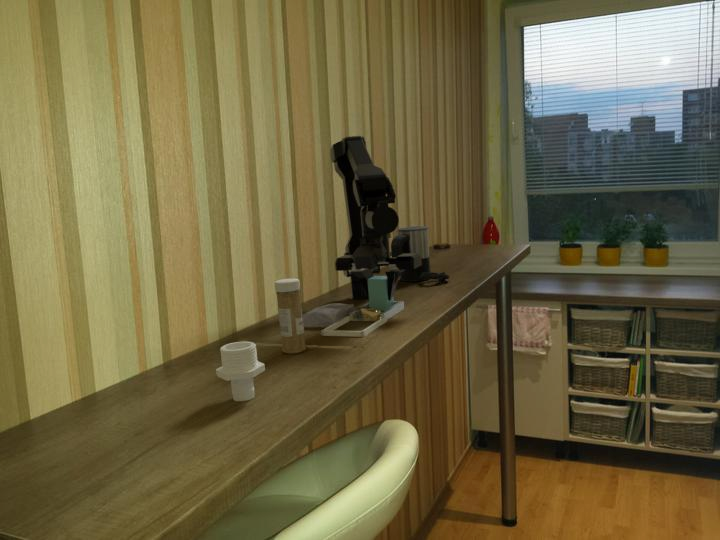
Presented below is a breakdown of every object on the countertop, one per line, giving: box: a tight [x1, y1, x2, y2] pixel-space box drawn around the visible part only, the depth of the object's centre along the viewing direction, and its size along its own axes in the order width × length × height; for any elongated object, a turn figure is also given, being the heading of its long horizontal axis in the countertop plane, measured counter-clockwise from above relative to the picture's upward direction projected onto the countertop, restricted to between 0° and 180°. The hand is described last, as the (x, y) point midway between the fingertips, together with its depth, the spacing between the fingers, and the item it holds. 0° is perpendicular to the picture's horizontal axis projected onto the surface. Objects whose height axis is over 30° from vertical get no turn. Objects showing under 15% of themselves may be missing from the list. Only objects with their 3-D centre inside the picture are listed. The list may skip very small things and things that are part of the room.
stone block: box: [302, 302, 355, 328], centre depth 142 cm, size 12×5×10 cm
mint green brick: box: [368, 275, 395, 311], centre depth 146 cm, size 4×4×7 cm
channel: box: [349, 300, 405, 322], centre depth 144 cm, size 12×8×2 cm
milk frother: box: [390, 225, 450, 282], centre depth 182 cm, size 14×16×15 cm
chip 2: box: [367, 309, 381, 322], centre depth 139 cm, size 3×3×2 cm
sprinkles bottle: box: [274, 277, 307, 355], centre depth 120 cm, size 5×5×14 cm
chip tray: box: [320, 316, 388, 338], centre depth 133 cm, size 12×9×1 cm
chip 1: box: [361, 307, 374, 318], centre depth 142 cm, size 3×3×2 cm
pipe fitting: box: [215, 341, 266, 402], centre depth 97 cm, size 6×7×8 cm
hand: (380, 300), depth 146 cm, fingers closed on mint green brick, 4 cm apart
